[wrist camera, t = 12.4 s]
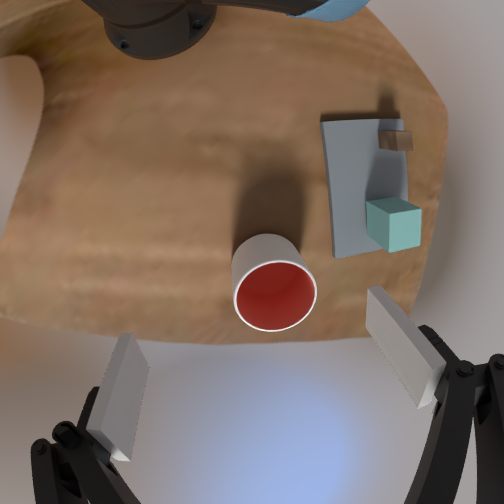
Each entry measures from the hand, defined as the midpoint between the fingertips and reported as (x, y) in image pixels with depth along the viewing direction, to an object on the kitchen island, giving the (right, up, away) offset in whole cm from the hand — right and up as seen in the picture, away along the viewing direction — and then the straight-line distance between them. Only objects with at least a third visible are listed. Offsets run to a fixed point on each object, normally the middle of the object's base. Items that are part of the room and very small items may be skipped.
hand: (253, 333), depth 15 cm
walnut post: (+19, +20, +21) cm, 35 cm away
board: (+17, +14, +25) cm, 33 cm away
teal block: (+19, +10, +25) cm, 33 cm away
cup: (+2, +3, +28) cm, 29 cm away
